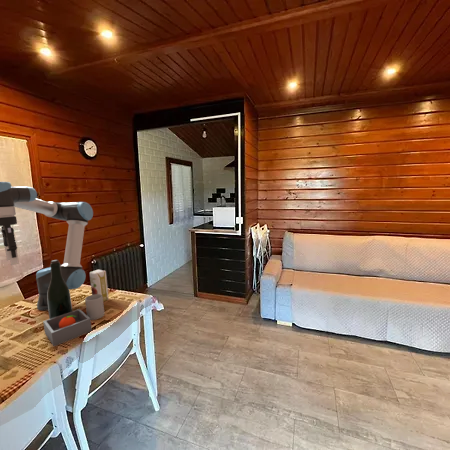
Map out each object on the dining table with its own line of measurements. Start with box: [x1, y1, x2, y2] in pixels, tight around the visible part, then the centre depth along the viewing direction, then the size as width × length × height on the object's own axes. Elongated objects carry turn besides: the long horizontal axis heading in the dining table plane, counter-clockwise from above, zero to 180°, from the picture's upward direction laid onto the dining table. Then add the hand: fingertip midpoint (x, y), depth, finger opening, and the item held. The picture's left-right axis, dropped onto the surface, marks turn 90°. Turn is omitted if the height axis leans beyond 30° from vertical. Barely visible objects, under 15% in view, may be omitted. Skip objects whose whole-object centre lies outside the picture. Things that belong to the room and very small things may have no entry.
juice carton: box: [89, 269, 109, 303], centre depth 157 cm, size 8×9×19 cm
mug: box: [84, 294, 105, 321], centre depth 139 cm, size 12×8×11 cm
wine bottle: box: [47, 259, 73, 319], centre depth 133 cm, size 10×10×33 cm
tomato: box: [59, 316, 76, 329], centre depth 123 cm, size 8×7×7 cm
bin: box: [42, 308, 93, 347], centre depth 122 cm, size 16×16×6 cm
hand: (12, 262), depth 116 cm, fingers open, 13 cm apart
